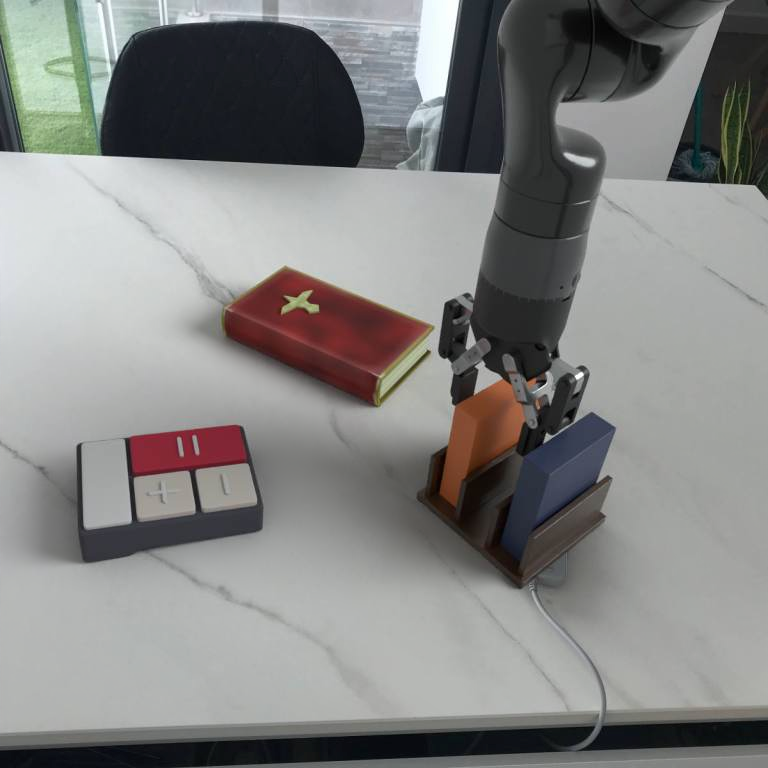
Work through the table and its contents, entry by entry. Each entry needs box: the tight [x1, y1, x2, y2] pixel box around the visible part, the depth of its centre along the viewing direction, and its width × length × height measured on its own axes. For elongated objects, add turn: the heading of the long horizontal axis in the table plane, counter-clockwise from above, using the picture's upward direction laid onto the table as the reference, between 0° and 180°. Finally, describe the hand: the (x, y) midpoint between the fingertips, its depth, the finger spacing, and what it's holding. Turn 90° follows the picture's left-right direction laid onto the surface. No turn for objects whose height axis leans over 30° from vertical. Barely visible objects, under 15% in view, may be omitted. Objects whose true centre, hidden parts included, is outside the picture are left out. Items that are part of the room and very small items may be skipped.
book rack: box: [416, 444, 614, 590], centre depth 71 cm, size 13×12×6 cm
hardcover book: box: [221, 265, 436, 408], centre depth 89 cm, size 12×21×4 cm, turn 59°
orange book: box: [439, 378, 540, 507], centre depth 71 cm, size 3×9×11 cm, turn 132°
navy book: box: [500, 411, 617, 562], centre depth 66 cm, size 3×9×11 cm, turn 132°
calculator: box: [75, 424, 264, 563], centre depth 69 cm, size 11×4×15 cm
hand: (493, 426), depth 70 cm, fingers open, 7 cm apart
